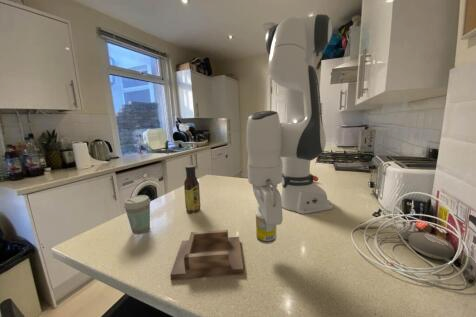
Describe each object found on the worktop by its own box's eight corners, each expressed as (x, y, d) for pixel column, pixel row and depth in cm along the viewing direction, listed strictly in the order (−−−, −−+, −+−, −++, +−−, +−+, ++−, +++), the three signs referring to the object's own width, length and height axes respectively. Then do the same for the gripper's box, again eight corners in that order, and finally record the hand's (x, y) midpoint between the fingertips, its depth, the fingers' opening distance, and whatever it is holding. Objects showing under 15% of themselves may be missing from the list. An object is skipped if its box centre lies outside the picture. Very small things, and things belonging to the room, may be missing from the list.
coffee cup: (129, 227, 75) (124, 197, 73) (153, 222, 78) (150, 193, 76) (126, 239, 67) (121, 206, 65) (154, 232, 71) (150, 201, 68)
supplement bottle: (263, 231, 60) (262, 199, 58) (280, 237, 56) (279, 203, 54) (252, 240, 56) (251, 206, 54) (269, 247, 52) (269, 211, 50)
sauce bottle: (197, 215, 83) (193, 168, 79) (183, 214, 84) (179, 168, 80) (203, 208, 89) (200, 164, 85) (190, 207, 90) (186, 164, 87)
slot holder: (239, 240, 64) (238, 226, 63) (243, 273, 51) (242, 256, 50) (182, 245, 63) (180, 230, 62) (170, 279, 49) (168, 262, 48)
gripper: (289, 187, 42) (289, 245, 45) (268, 165, 62) (269, 206, 65) (260, 189, 42) (262, 248, 45) (248, 166, 62) (250, 208, 65)
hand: (266, 223), depth 55 cm, fingers closed on supplement bottle, 6 cm apart
